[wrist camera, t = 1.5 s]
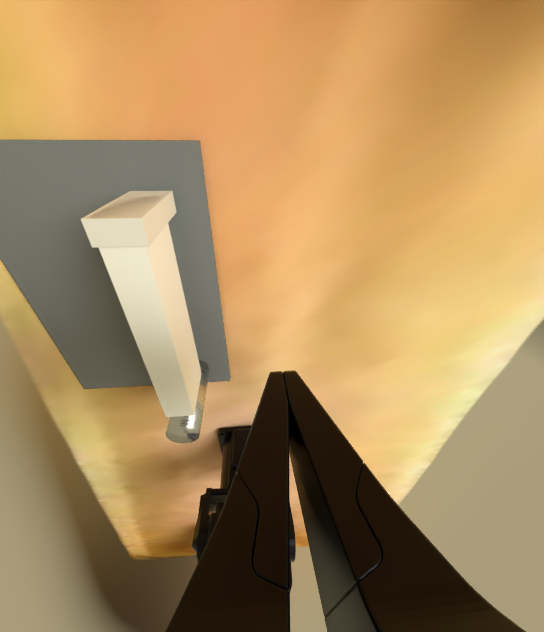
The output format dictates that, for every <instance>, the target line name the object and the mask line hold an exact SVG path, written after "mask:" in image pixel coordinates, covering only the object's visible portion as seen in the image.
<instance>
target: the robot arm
mask: <svg viewBox="0 0 544 632" xmlns="http://www.w3.org/2000/svg"><path fill="white" fill-rule="evenodd" d="M218 437H219V442H220V447H221V452H222V456H223V458H222V472H221V486H220V489H212V488H207V490H206V493H205V494H204V495H201V498H200V507H199V514H198V519H197V524H196V528H195V533H194V538H193V545H192V547H193V549H194V550H195V552H196V553H197V559H198V564H197V566H196V569H195V571H194V573H193V575H192V577H191V579H190V581H189V583H188V586H187V588H186V590H185V592H184V594H183V596H182V598H181V601H180V603H179V605H178V607H177V609H176V611H175V613H174V615H173V617H172V619H171V621H170V623H169V625H168V627H167V629H166V631H165V632H290V590H291V586H292V573H291V562H294V560H295V532H294V525H293V519H292V513H291V508H290V502H289V453H290V458H291V462H292V467H293V472H294V476H295V481H296V486H297V491H298V495H299V500H300V505H301V509H302V514H303V519H304V523H305V528H306V533H307V538H308V542H309V547H310V552H311V556H312V561H313V566H314V570H315V575H316V579H317V584H318V589H319V593H320V599H321V603H322V608H323V613H324V616H325V622H326V627H327V632H526V631H524V630H523V629H522V628H520V627H519V626H518V625H516V624H515V623H514V622H512V621H511V620H510V619H508V618H507V617H506V616H504V615H503V614H502V613H501V612H499V611H498V610H497V609H496V608H494V607H493V606H492V605H491V604H490V603H489V602H487V601H486V600H485V599H484V598H483V597H482V596H481V595H480V594H479V593H478V592H476V591H475V590H474V589H473V588H472V587H471V586H470V585H469V584H468V583H467V582H466V581H465V580H464V578H463V577H461V575H460V574H459V573H458V572H457V571H456V570H455V569H454V567H453V566H452V565H451V564H450V563H449V562H448V561H447V560H446V559H445V558H444V556H443V555H442V554H441V553H440V552H439V551H438V550H437V548H436V547H435V546H434V545H433V544H432V543H431V542H430V541H429V540H428V539H427V537H425V535H424V534H423V533H422V532H421V531H420V530H419V528H418V527H417V526H416V525H415V524H414V523H413V522H412V521H411V520H410V518H409V517H408V516H407V515H406V514H405V513H404V512H403V510H402V509H401V508H400V507H399V506H398V505H397V503H396V502H395V501H394V500H393V499H392V498H391V496H390V495H389V494H388V493H387V491H386V490H385V489H384V488H383V486H382V485H381V484H380V483H379V481H378V480H377V479H376V477H375V476H374V475H373V473H372V472H371V471H370V469H369V468H368V467H367V465H366V464H365V463H364V464H363V460H362V459H361V458H360V456H359V455H358V454H357V452H356V451H355V450H354V448H353V447H352V446H351V444H350V443H349V442H348V440H347V439H346V438H345V436H344V435H343V434H342V432H341V431H340V429H339V428H338V427H337V425H336V424H335V423H334V421H333V420H332V419H331V417H330V416H329V415H328V413H327V412H326V411H325V409H324V408H323V407H322V405H321V404H320V403H319V401H318V400H317V399H316V397H315V396H314V395H313V393H312V392H311V391H310V389H309V388H308V387H307V385H306V384H305V383H304V381H303V380H302V379H301V377H300V376H299V375H298V373H297V372H296V371H284V372H283V373H282V372H281V371H277V372H270V374H269V377H268V380H267V383H266V386H265V389H264V391H263V394H262V397H261V400H260V403H259V406H258V409H257V412H256V415H255V418H254V421H253V424H252V426H251V427H239V428H225V429H219V430H218ZM215 511H216V512H215Z"/></svg>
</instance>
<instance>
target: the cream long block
mask: <svg viewBox="0 0 544 632" xmlns="http://www.w3.org/2000/svg"><path fill="white" fill-rule="evenodd" d="M176 212H177V211H176V206H175V201H174V196H173V191H129V192H127V193H126V194H124V195H122V196H120V197H119V198H117V199H115V200H113V201H111V202H110V203H108V204H106V205H104V206H103V207H101V208H99V209H97V210H96V211H94V212H92V213H90V214H89V215H87V216H85V217H83V218H81V222H82V224H83V226H84V229H85V231H86V234H87V236H88V239H89V241H90V243H91V246H92V248H93V247H98V248H99V250H100V253H101V255H102V258H103V260H104V263H105V265H106V268H107V270H108V273H109V275H110V278H111V280H112V283H113V285H114V288H115V290H116V293H117V295H118V298H119V301H120V303H121V306H122V308H123V311H124V313H125V316H126V318H127V321H128V323H129V326H130V328H131V331H132V333H133V336H134V338H135V341H136V343H137V346H138V348H139V351H140V353H141V356H142V358H143V361H144V363H145V366H146V368H147V371H148V373H149V376H150V379H151V381H152V384H153V386H154V389H155V391H156V394H157V396H158V399H159V401H160V404H161V406H162V409H163V411H164V414H165V416H166V417H177V416H193V415H194V413H195V407H196V402H197V396H198V391H199V385H200V380H201V374H202V373H201V369H200V364H199V360H198V355H197V351H196V346H195V342H194V337H193V333H192V328H191V324H190V319H189V315H188V310H187V306H186V301H185V297H184V292H183V288H182V283H181V279H180V274H179V270H178V265H177V261H176V256H175V252H174V247H173V243H172V238H171V234H170V229H169V225H168V222H169V221H170V220H171V219H172V217H173V216H174V215H175V214H176Z"/></svg>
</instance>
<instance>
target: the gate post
mask: <svg viewBox="0 0 544 632" xmlns="http://www.w3.org/2000/svg"><path fill="white" fill-rule="evenodd" d="M199 364H200V369H201V373H202V374H201V380H200V385H199V391H198V396H197V402H196V407H195V413H194V415H193V416H177V417H170V420H169V424H168V428H167V432H166V436H167V438H168V439H170V440H171V441H173V442H177V443H191V442H194V441H196V440H197V439H198V438H199V435H200V428H201V422H202V415H203V408H204V402H205V395H206V389H207V382H208V376H209V366H208V364H207V363H205V362H204V361H201V360H199Z"/></svg>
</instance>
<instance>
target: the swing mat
mask: <svg viewBox="0 0 544 632" xmlns="http://www.w3.org/2000/svg"><path fill="white" fill-rule="evenodd" d="M129 191H173V196H174V201H175V206H176V211H177V212H176V214H175V215H174V216H173V217H172V219H171V220H170V221H169V222H168V225H169V229H170V234H171V238H172V243H173V247H174V252H175V256H176V261H177V265H178V270H179V274H180V279H181V283H182V288H183V292H184V297H185V301H186V306H187V310H188V315H189V319H190V324H191V328H192V333H193V337H194V342H195V346H196V351H197V355H198V360H201V361H204V362H205V363H207V364H208V366H209V376H208V382H218V381H230V371H229V363H228V355H227V348H226V340H225V332H224V324H223V317H222V309H221V301H220V293H219V286H218V278H217V270H216V262H215V255H214V247H213V239H212V231H211V224H210V216H209V208H208V200H207V193H206V185H205V177H204V169H203V162H202V154H201V146H200V141H176V140H0V259H1V261H2V262H3V264H4V265H5V267H6V268H7V270H8V272H9V273H10V275H11V276H12V278H13V279H14V281H15V282H16V284H17V286H18V287H19V289H20V290H21V292H22V293H23V295H24V296H25V298H26V300H27V301H28V303H29V304H30V306H31V307H32V309H33V310H34V312H35V314H36V315H37V317H38V318H39V320H40V321H41V323H42V324H43V326H44V328H45V329H46V331H47V332H48V334H49V335H50V337H51V338H52V340H53V341H54V343H55V345H56V346H57V348H58V349H59V351H60V352H61V354H62V355H63V357H64V359H65V360H66V362H67V363H68V365H69V366H70V368H71V369H72V371H73V373H74V374H75V376H76V377H77V379H78V380H79V382H80V383H81V385H82V387H83V388H84V389H94V388H112V387H130V386H147V385H153V384H152V381H151V379H150V376H149V373H148V371H147V368H146V366H145V363H144V361H143V358H142V356H141V353H140V351H139V348H138V346H137V343H136V341H135V338H134V336H133V333H132V331H131V328H130V326H129V323H128V321H127V318H126V316H125V313H124V311H123V308H122V306H121V303H120V301H119V298H118V295H117V293H116V290H115V288H114V285H113V283H112V280H111V278H110V275H109V273H108V270H107V268H106V265H105V263H104V260H103V258H102V255H101V253H100V250H99V248H98V247H93V248H92V246H91V243H90V241H89V239H88V236H87V234H86V231H85V229H84V226H83V224H82V222H81V218H83V217H85V216H87V215H89V214H90V213H92V212H94V211H96V210H97V209H99V208H101V207H103V206H104V205H106V204H108V203H110V202H111V201H113V200H115V199H117V198H119V197H120V196H122V195H124V194H126V193H127V192H129Z"/></svg>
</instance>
